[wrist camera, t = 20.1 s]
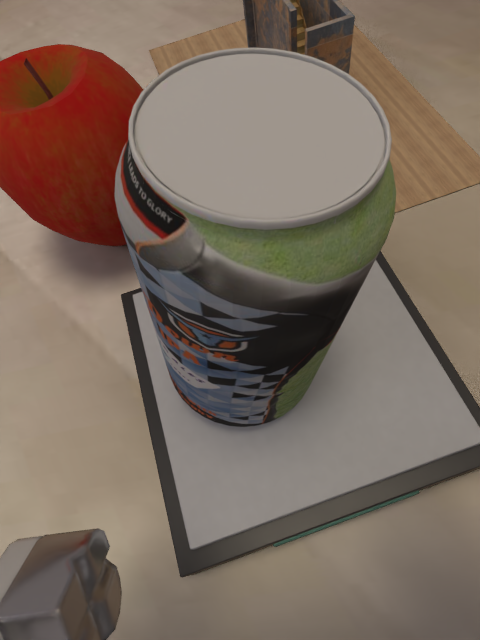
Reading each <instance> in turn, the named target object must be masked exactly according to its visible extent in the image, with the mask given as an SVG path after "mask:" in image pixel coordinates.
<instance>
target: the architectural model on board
mask: <svg viewBox="0 0 480 640" xmlns="http://www.w3.org/2000/svg"><path fill="white" fill-rule="evenodd" d="M243 6H244V15H245V19H244V20H241V21H238V22H235V23H232V24H229V25H226V26H222V27H219V28H216V29H213V30H210V31H207V32H204V33H201V34H198V35H195V36H192V37H189V38H185V39H182V40H179V41H176V42H173V43H170V44H167V45H164V46H161V47H158V48H155V49H151V50H149V52H150V54H151V56H152V59H153V61H154V63H155V66H156V68H157V71H158V73H159V75H160V74H162V73H163V72H164V71H165V70H167V69H169V68H171V67H173V66H174V65H176V64H178V63H180V62H182V61H185V60H187V59H190V58H193V57H195V56H198V55H201V54H206V53H210V52H214V51H218V50H226V49H233V48H270V49H279V50H285V51H291V52H296V53H299V54H303V55H307V56H310V57H314V58H316V59H319V60H321V61H324V62H326V63H329V64H331V65H333V66H335V67H337V68H338V69H340V70H342V71H344V72H346V73H348V74H349V75H350V76H352V77H353V78H354V79H356V80H357V81H358V82H360V83H361V84H362V85H363V86H364V87H365V88H366V89H367V90H368V91H369V92H370V93H371V94H372V95H373V96H374V97H375V98H376V100H377V101H378V103H379V104H380V106H381V107H382V109H383V110H384V113H385V115H386V118H387V120H388V122H389V125H390V132H391V138H392V143H391V152H390V158H389V160H390V162H391V165H392V168H393V173H394V180H395V186H396V203H395V213H396V212H398V211H401V210H404V209H407V208H410V207H413V206H415V205H418V204H421V203H424V202H427V201H430V200H432V199H435V198H438V197H441V196H444V195H447V194H449V193H452V192H455V191H458V190H461V189H464V188H466V187H469V186H472V185H475V184H478V183H480V157H479V156H478V154H477V153H476V152H475V151H474V150H473V149H472V148H471V147H470V146H469V145H468V144H467V143H466V142H465V141H464V140H463V139H462V138H461V137H460V136H459V134H458V133H457V132H456V131H455V130H454V129H453V128H452V127H451V126H450V125H449V124H448V123H447V122H446V121H445V120H444V119H443V118H442V117H441V115H440V114H439V113H438V112H437V111H436V110H435V109H434V108H433V107H432V106H431V105H430V104H429V103H428V102H427V101H426V100H425V99H424V98H423V97H422V95H421V94H420V93H419V92H418V91H417V90H416V89H415V88H414V87H413V86H412V85H411V84H410V83H409V82H408V81H407V80H406V79H405V78H404V77H403V75H402V74H401V73H400V72H399V71H398V70H397V69H396V68H395V67H394V66H393V65H392V64H391V63H390V62H389V61H388V60H387V59H386V58H385V56H384V55H383V54H382V53H381V52H380V51H379V50H378V49H377V48H376V47H375V46H374V45H373V44H372V43H371V42H370V41H369V40H368V39H367V38H366V36H365V35H364V34H363V33H362V32H361V31H360V30H359V29H358V28H357V27H356V26H355V25H354V19H355V16H354V15H353V14H352V13H351V12H350V11H349V10H348V9H347V8H346V7H345V6H344V5H343V3H342V2H341V1H340V0H243Z"/></svg>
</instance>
